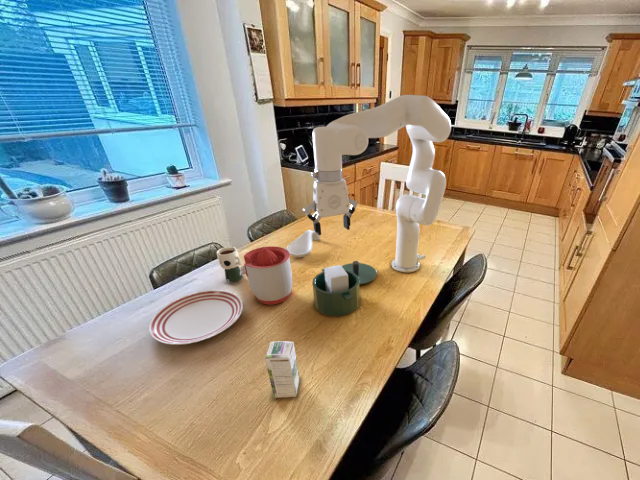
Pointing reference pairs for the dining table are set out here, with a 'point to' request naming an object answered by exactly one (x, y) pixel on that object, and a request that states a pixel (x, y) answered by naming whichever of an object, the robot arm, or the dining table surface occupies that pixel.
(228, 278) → the character mug
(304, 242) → the spoon rest
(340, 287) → the small box
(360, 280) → the lid
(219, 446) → the dining table surface
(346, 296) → the pot
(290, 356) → the syrup box
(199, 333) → the dinner plate
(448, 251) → the dining table surface
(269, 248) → the citrus juicer
